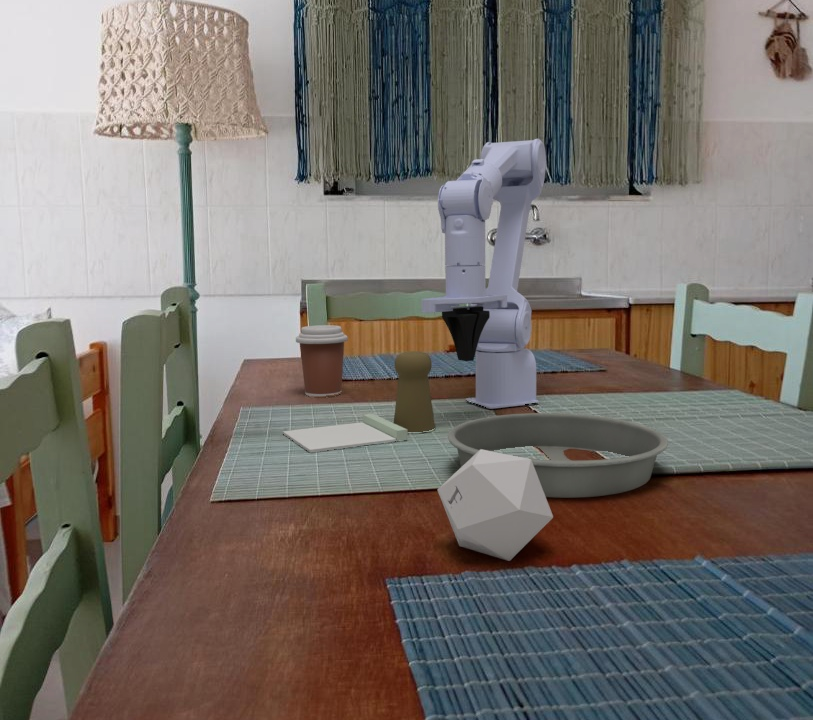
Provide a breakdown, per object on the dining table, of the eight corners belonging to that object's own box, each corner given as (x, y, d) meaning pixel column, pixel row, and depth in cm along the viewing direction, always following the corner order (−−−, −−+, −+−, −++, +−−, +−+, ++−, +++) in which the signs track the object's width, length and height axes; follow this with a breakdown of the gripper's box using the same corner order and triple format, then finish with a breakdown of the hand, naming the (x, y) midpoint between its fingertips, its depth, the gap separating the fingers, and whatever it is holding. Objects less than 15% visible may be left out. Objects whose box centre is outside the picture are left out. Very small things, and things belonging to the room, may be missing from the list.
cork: (440, 425, 118) (439, 350, 116) (428, 434, 112) (426, 355, 111) (401, 423, 120) (399, 348, 118) (386, 432, 114) (385, 354, 112)
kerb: (372, 423, 120) (372, 413, 119) (407, 440, 109) (407, 429, 109) (363, 424, 119) (363, 414, 119) (397, 441, 108) (397, 430, 108)
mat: (362, 424, 119) (362, 422, 119) (396, 441, 108) (396, 439, 108) (282, 434, 114) (282, 431, 114) (310, 452, 103) (309, 449, 103)
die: (455, 533, 75) (409, 462, 70) (538, 483, 75) (499, 409, 70) (489, 599, 68) (441, 526, 63) (581, 544, 68) (541, 467, 63)
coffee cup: (287, 397, 142) (285, 329, 141) (313, 388, 151) (310, 324, 149) (334, 400, 139) (332, 330, 137) (357, 391, 147) (356, 325, 145)
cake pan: (636, 519, 77) (637, 472, 77) (409, 486, 89) (408, 445, 88) (686, 458, 98) (688, 422, 98) (497, 438, 110) (497, 405, 110)
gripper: (484, 264, 124) (485, 353, 126) (407, 266, 115) (409, 362, 117) (517, 264, 118) (517, 357, 120) (438, 267, 110) (439, 367, 111)
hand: (465, 360), depth 118 cm, fingers closed
